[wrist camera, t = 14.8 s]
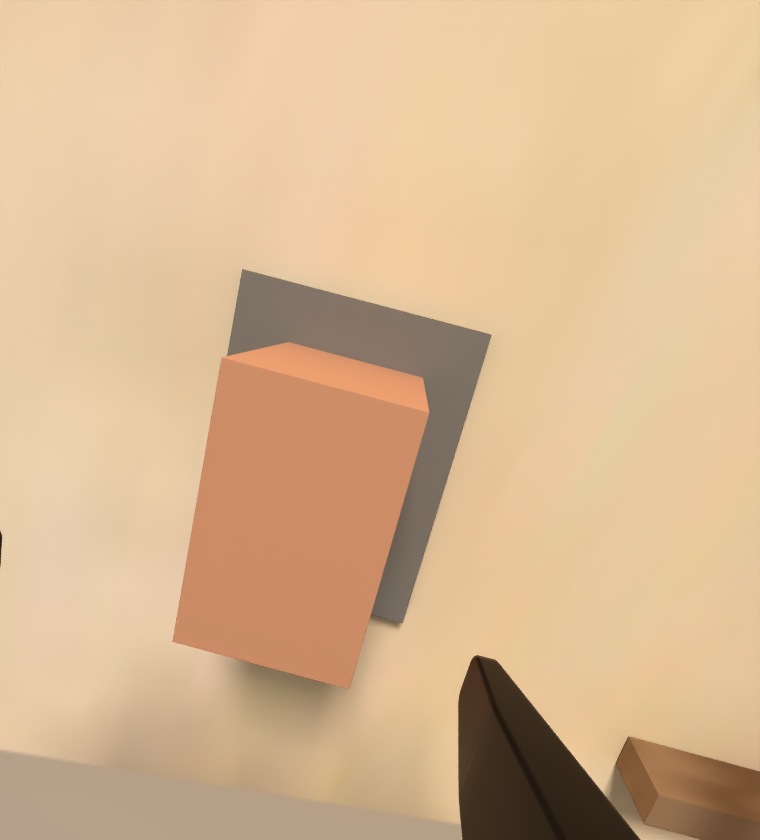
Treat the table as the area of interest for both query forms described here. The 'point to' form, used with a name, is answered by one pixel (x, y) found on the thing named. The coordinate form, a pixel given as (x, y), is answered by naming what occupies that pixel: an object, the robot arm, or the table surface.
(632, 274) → the table surface
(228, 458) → the terracotta blank
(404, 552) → the charcoal mat
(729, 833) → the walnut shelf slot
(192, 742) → the table surface
